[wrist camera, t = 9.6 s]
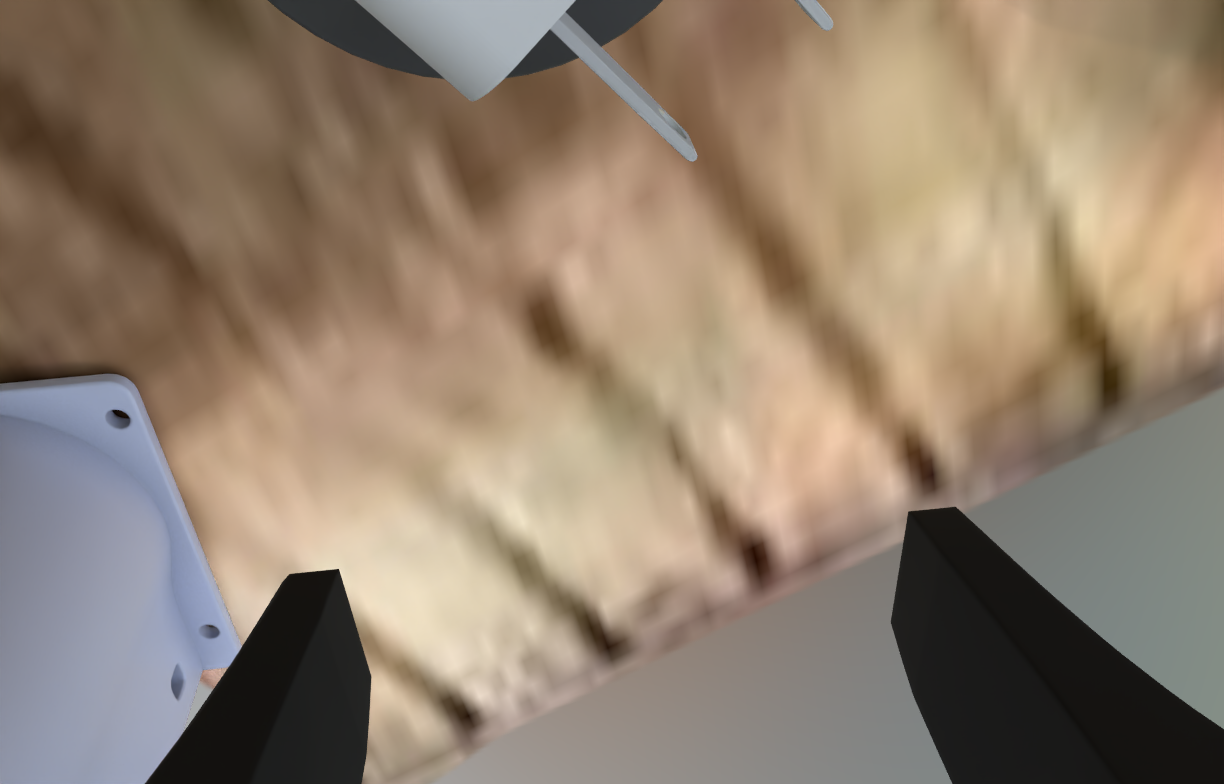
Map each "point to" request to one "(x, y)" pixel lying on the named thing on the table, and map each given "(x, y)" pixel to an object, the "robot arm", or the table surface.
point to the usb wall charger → (520, 47)
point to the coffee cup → (333, 15)
